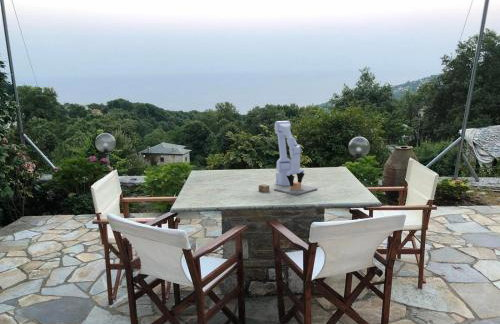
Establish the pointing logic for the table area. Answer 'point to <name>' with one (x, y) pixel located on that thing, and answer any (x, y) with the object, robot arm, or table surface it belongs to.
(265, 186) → the brick walnut
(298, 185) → the brick terracotta
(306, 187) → the tower board
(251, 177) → the table surface
